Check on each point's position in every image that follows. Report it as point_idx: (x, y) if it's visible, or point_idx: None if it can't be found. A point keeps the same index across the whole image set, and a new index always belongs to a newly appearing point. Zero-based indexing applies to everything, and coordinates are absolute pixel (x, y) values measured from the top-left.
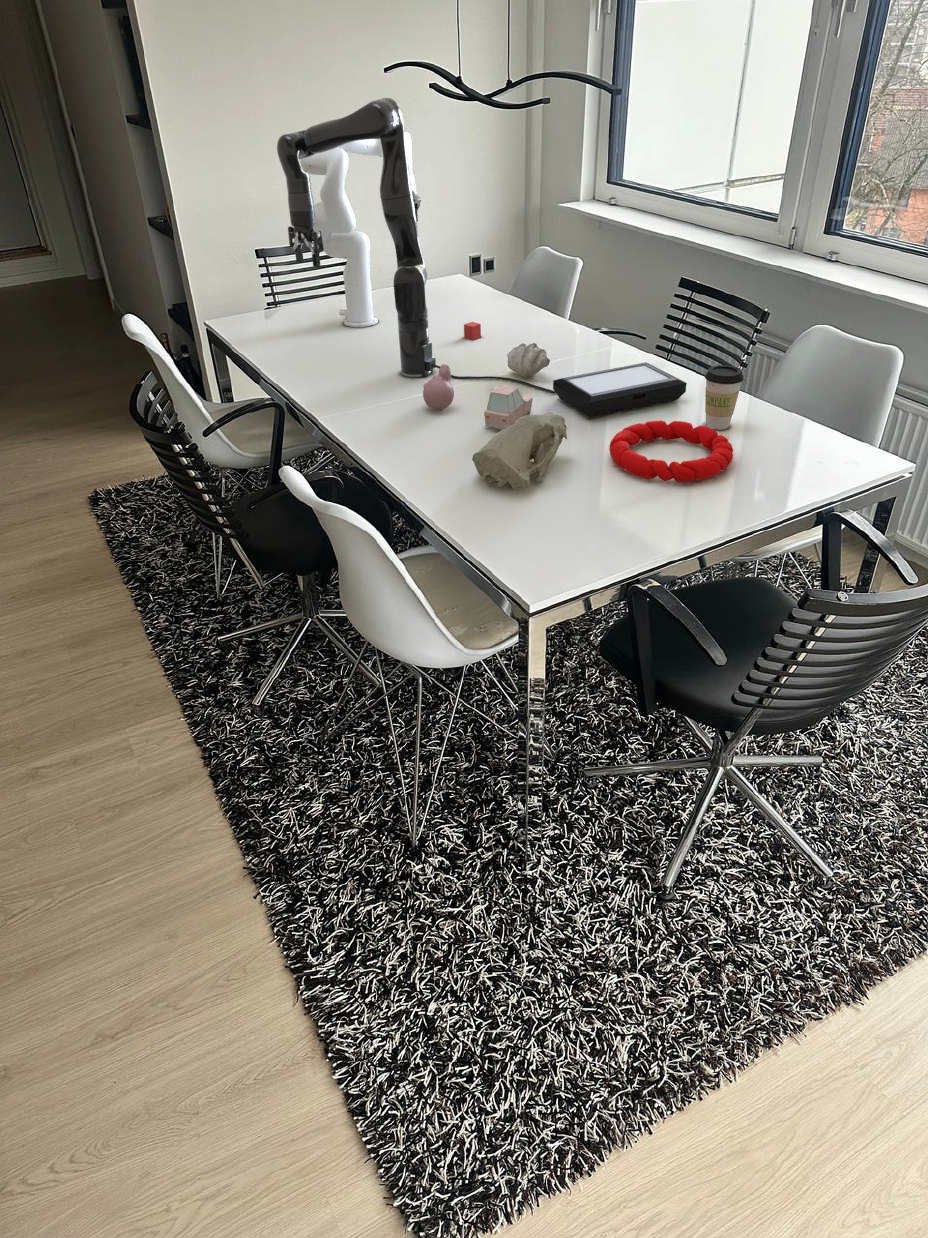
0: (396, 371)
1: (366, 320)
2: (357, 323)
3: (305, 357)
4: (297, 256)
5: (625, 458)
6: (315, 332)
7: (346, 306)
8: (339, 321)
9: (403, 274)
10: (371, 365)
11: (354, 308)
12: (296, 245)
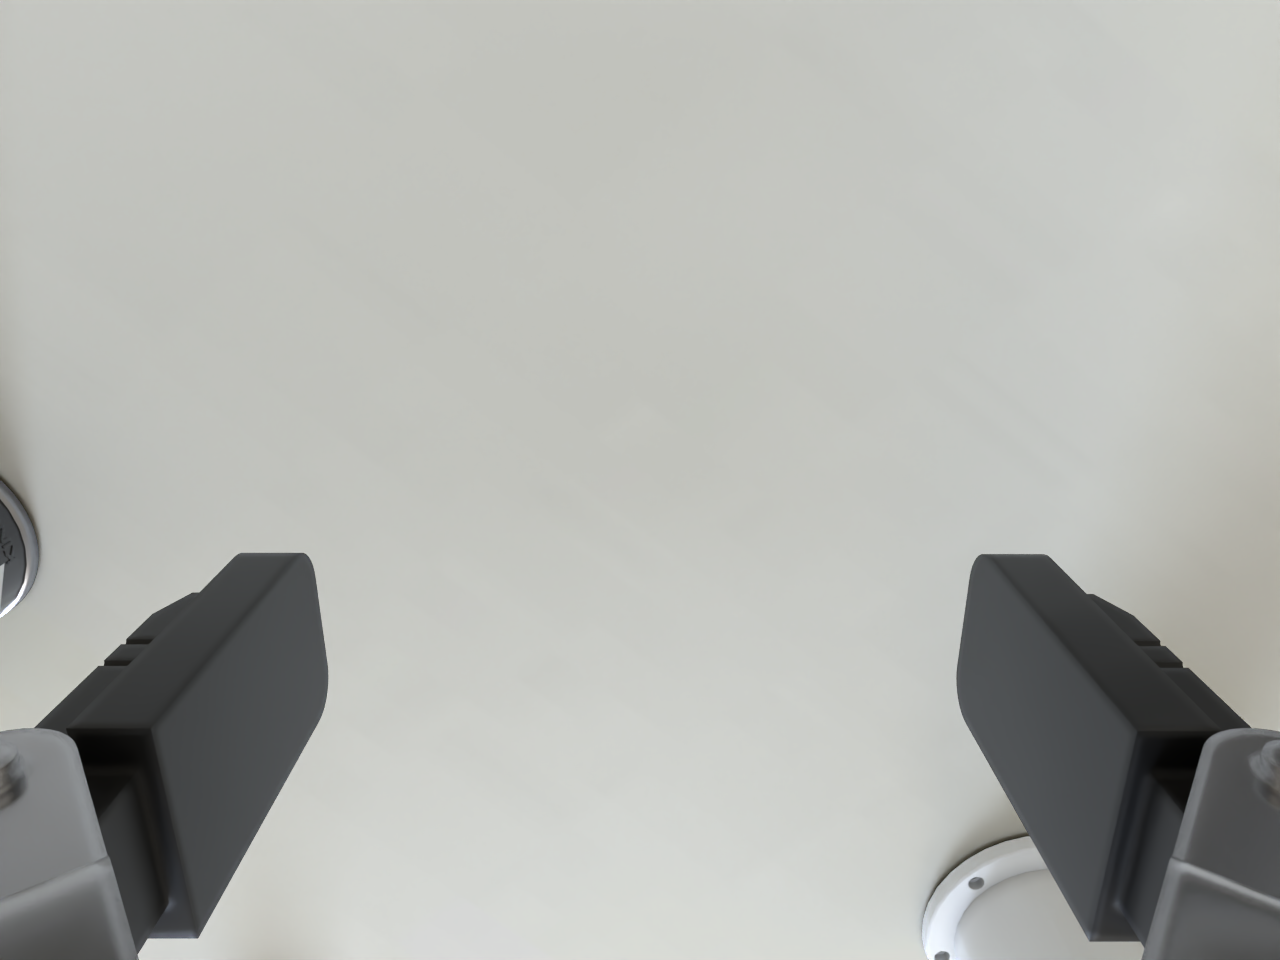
0: (51, 474)
1: (962, 929)
2: (993, 877)
3: (782, 245)
4: (1043, 631)
5: None
6: None
7: None
8: None
9: None
10: (271, 446)
11: (1048, 956)
12: (1179, 864)
